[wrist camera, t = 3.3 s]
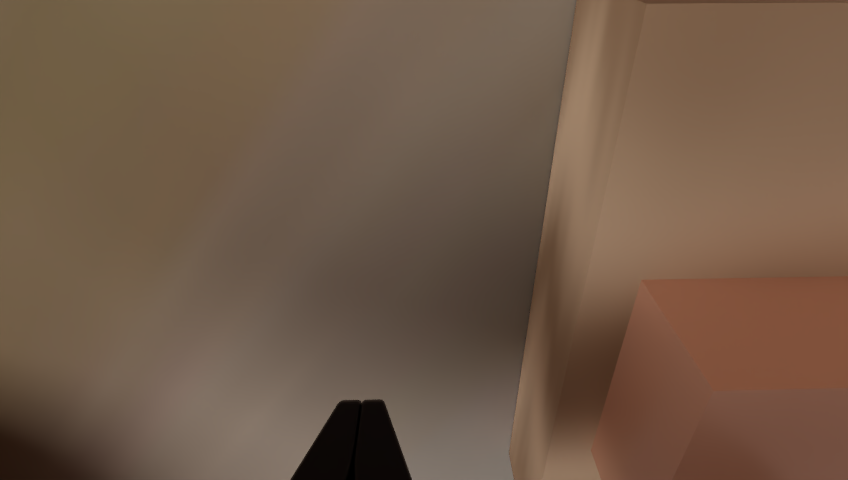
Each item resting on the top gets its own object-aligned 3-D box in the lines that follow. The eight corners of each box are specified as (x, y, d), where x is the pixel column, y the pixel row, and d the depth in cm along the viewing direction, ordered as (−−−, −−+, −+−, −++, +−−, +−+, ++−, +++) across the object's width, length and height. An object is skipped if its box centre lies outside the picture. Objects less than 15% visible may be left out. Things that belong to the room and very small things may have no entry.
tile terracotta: (801, 445, 12) (888, 560, 10) (590, 450, 12) (631, 567, 9) (914, 275, 9) (1070, 383, 7) (641, 279, 9) (714, 390, 7)
